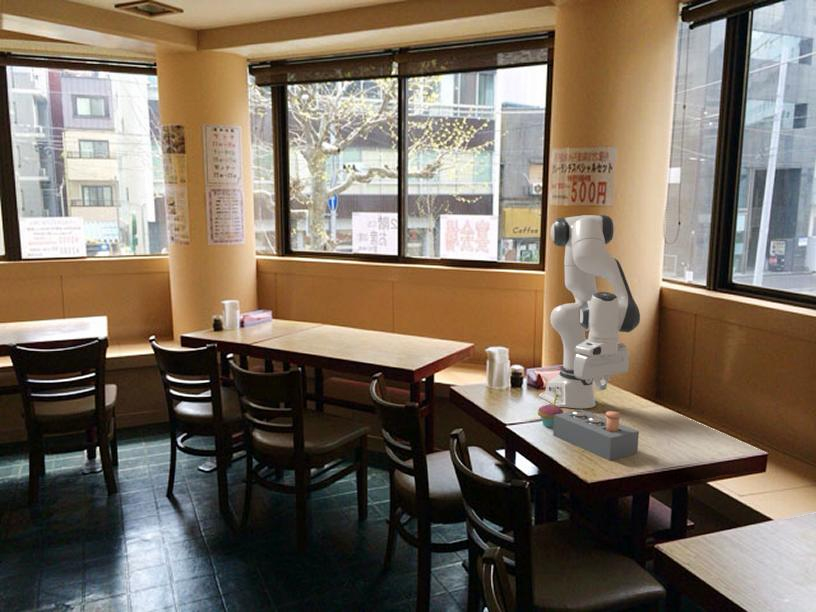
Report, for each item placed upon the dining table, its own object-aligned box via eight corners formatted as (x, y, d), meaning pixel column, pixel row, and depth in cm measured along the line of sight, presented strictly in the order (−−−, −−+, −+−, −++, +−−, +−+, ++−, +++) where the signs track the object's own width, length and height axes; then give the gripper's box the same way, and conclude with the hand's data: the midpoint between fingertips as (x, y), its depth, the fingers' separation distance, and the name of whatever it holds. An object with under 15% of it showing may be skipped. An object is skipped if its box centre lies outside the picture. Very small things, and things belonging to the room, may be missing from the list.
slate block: (553, 435, 210) (554, 414, 209) (579, 429, 216) (581, 409, 215) (609, 460, 190) (610, 437, 189) (637, 453, 196) (638, 431, 195)
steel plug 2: (584, 441, 204) (585, 417, 202) (593, 439, 206) (595, 415, 204) (594, 445, 200) (595, 421, 199) (603, 443, 202) (605, 419, 201)
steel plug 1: (568, 434, 210) (569, 411, 208) (577, 432, 212) (579, 409, 210) (577, 438, 206) (579, 415, 205) (587, 436, 208) (588, 413, 207)
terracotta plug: (601, 436, 197) (603, 412, 196) (611, 434, 199) (612, 410, 198) (612, 441, 193) (613, 416, 192) (621, 438, 195) (623, 414, 194)
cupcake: (555, 420, 225) (557, 387, 223) (567, 428, 217) (569, 394, 215) (533, 422, 223) (534, 388, 221) (544, 430, 215) (545, 395, 213)
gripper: (618, 341, 204) (616, 383, 206) (571, 347, 194) (569, 391, 196) (634, 344, 199) (632, 387, 201) (586, 351, 189) (584, 396, 190)
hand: (601, 389), depth 198 cm, fingers closed
